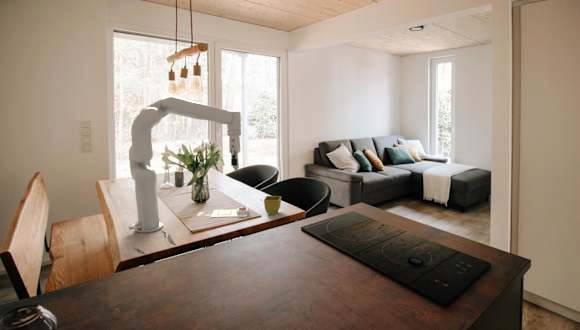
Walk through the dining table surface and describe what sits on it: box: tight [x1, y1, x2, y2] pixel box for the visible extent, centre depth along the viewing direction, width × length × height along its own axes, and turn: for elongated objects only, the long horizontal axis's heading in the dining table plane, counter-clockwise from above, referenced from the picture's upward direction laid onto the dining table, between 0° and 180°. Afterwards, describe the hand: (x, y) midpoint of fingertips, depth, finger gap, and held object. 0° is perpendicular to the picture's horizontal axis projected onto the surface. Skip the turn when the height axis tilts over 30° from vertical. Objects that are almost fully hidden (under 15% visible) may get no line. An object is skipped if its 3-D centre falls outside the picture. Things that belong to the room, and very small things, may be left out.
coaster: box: [196, 211, 212, 217], centre depth 177 cm, size 7×7×1 cm
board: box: [209, 206, 249, 218], centre depth 177 cm, size 20×12×3 cm, turn 93°
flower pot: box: [263, 195, 282, 215], centre depth 178 cm, size 9×9×9 cm
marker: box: [232, 152, 240, 171], centre depth 179 cm, size 4×4×11 cm
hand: (234, 164), depth 179 cm, fingers closed on marker, 3 cm apart
